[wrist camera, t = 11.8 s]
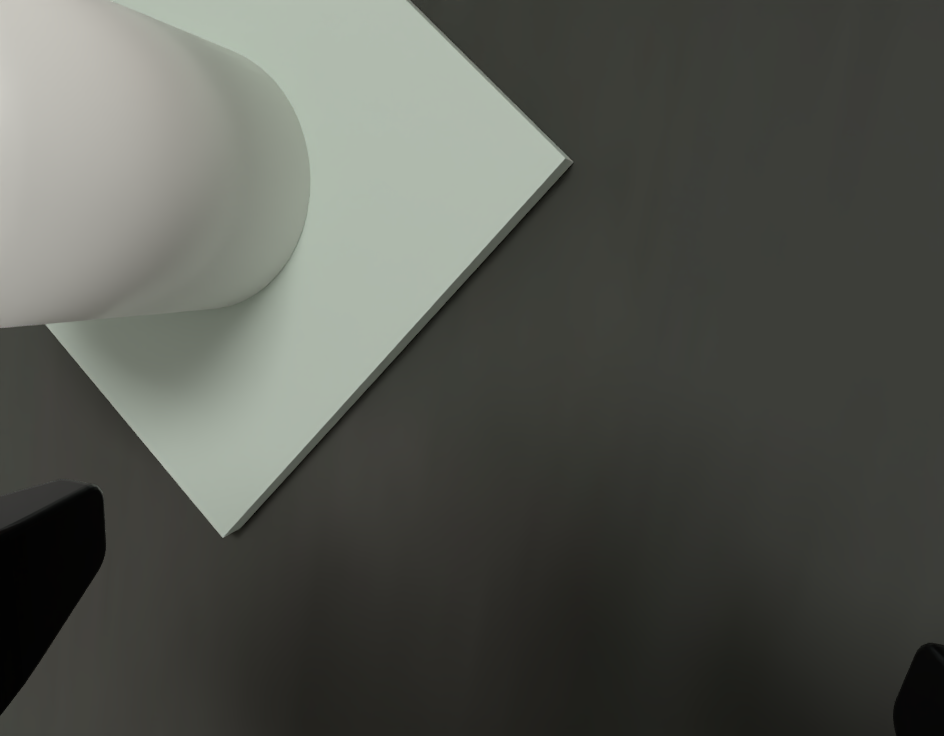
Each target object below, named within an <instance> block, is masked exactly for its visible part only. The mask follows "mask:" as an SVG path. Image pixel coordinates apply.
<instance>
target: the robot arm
mask: <svg viewBox="0 0 944 736" xmlns="http://www.w3.org/2000/svg"><path fill="white" fill-rule="evenodd" d="M105 551H106V535H105V514H104V498H103V493H102V491H101V489H100V488H99V487H98V486H97V485H95V484H90V483H85V482H80V481H75V480H69V479H60V480H56V481H52V482H49V483H45V484H41V485H38V486H34V487H31V488H27V489H23V490H20V491H16V492H13V493H9V494H6V495H2V496H0V715H1V714H2V713H3V711H4V710H5V709H6V708H7V706H8V705H9V704H10V703H11V701H12V700H13V699H14V697H15V696H16V695H17V693H18V692H19V691H20V689H21V688H22V687H23V685H24V684H25V683H26V681H27V680H28V678H29V677H30V675H31V674H32V672H33V671H34V670H35V668H36V667H37V665H38V664H39V662H40V661H41V659H42V657H43V656H44V654H45V653H46V651H47V650H48V648H49V647H50V645H51V644H52V642H53V640H54V639H55V637H56V636H57V634H58V633H59V631H60V630H61V628H62V626H63V625H64V623H65V622H66V620H67V619H68V617H69V616H70V614H71V613H72V611H73V609H74V608H75V606H76V605H77V603H78V602H79V600H80V599H81V597H82V596H83V594H84V592H85V591H86V589H87V588H88V586H89V585H90V583H91V582H92V580H93V578H94V577H95V575H96V574H97V572H98V571H99V569H100V567H101V565H102V562H103V560H104V556H105ZM893 720H894V727H895V732H896V736H944V645H941V644H936V643H927V644H924V645H922V646H921V647H920V648H919V649H918V650H917V652H916V654H915V656H914V658H913V661H912V663H911V665H910V668H909V670H908V672H907V675H906V677H905V680H904V682H903V684H902V687H901V689H900V691H899V694H898V696H897V698H896V701H895V705H894V711H893Z"/></svg>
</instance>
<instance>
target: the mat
mask: <svg viewBox="0 0 944 736" xmlns="http://www.w3.org/2000/svg"><path fill="white" fill-rule="evenodd" d="M111 1H113V2H115V3H118V4H120V5H123V6H125V7H128V8H130V9H132V10H135V11H137V12H140V13H142V14H145V15H147V16H149V17H152V18H154V19H157V20H159V21H162V22H164V23H166V24H169V25H171V26H174V27H176V28H179V29H181V30H183V31H186V32H188V33H191V34H193V35H196V36H198V37H200V38H203V39H205V40H208V41H210V42H213V43H215V44H217V45H220V46H222V47H225V48H227V49H230V50H232V51H234V52H237V53H239V54H241V55H242V56H244V57H246V58H248V59H250V60H251V61H253V62H254V63H255V64H257V65H258V66H260V67H261V68H262V69H263V70H264V71H265V72H266V73H267V74H268V75H269V76H271V77H272V78H273V79H274V81H275V82H276V83H277V84H278V86H279V87H280V88H281V89H282V91H283V92H284V94H285V95H286V97H287V99H288V100H289V102H290V104H291V105H292V107H293V109H294V111H295V113H296V116H297V118H298V120H299V122H300V125H301V128H302V132H303V135H304V138H305V141H306V147H307V152H308V157H309V168H310V196H309V203H308V209H307V215H306V218H305V222H304V226H303V230H302V232H301V235H300V237H299V240H298V242H297V245H296V247H295V249H294V251H293V253H292V254H291V256H290V258H289V260H288V261H287V263H286V264H285V266H284V267H283V268H282V270H281V271H280V272H279V274H278V275H277V276H276V277H275V278H274V279H273V280H272V281H271V282H270V283H269V284H268V285H267V286H266V287H264V288H263V289H262V290H261V291H259V292H258V293H257V294H255V295H253V296H252V297H250V298H248V299H246V300H245V301H242V302H240V303H237V304H234V305H232V306H228V307H223V308H218V309H208V310H197V311H186V312H174V313H163V314H152V315H141V316H130V317H118V318H107V319H96V320H85V321H74V322H62V323H51V324H45V325H46V326H47V327H48V328H49V330H50V331H51V332H52V333H53V334H54V336H55V337H56V338H57V339H58V340H59V342H60V343H61V344H62V345H63V346H64V348H65V349H66V350H67V351H68V352H69V354H70V355H71V356H72V357H73V358H74V360H75V361H76V362H77V363H78V364H79V366H80V367H81V368H82V369H83V370H84V372H85V373H86V374H87V375H88V376H89V378H90V379H91V380H92V381H93V382H94V384H95V385H96V386H97V387H98V388H99V390H100V391H101V392H102V393H103V394H104V396H105V397H106V398H107V399H108V400H109V402H110V403H111V404H112V405H113V406H114V408H115V409H116V410H117V411H118V412H119V414H120V415H121V416H122V417H123V418H124V420H125V421H126V422H127V423H128V425H129V426H130V427H131V428H132V429H133V431H134V432H135V433H136V434H137V435H138V437H139V438H140V439H141V440H142V441H143V443H144V444H145V445H146V446H147V447H148V449H149V450H150V451H151V452H152V453H153V455H154V456H155V457H156V458H157V459H158V461H159V462H160V463H161V464H162V465H163V467H164V468H165V469H166V470H167V471H168V473H169V474H170V475H171V476H172V477H173V479H174V480H175V481H176V482H177V483H178V485H179V486H180V487H181V488H182V489H183V491H184V492H185V493H186V494H187V495H188V497H189V498H190V499H191V500H192V501H193V503H194V504H195V505H196V506H197V507H198V509H199V510H200V511H201V512H202V513H203V515H204V516H205V517H206V518H207V519H208V521H209V522H210V523H211V524H212V526H213V527H214V528H215V529H216V530H217V532H218V533H219V534H220V535H221V536H222V538H223V537H225V536H227V535H229V534H231V533H233V532H234V531H236V530H238V529H240V528H241V527H242V526H243V525H244V524H245V523H246V522H247V521H248V519H249V518H250V517H251V516H252V515H253V514H254V513H255V512H256V511H257V510H258V508H259V507H260V506H261V505H262V504H263V503H264V502H265V501H266V500H267V499H268V497H269V496H270V495H271V494H272V493H273V492H274V491H275V490H276V489H277V488H278V486H279V485H280V484H281V483H282V482H283V481H284V480H285V479H286V478H287V477H288V475H289V474H290V473H291V472H292V471H293V470H294V469H295V468H296V467H297V466H298V464H299V463H300V462H301V461H302V460H303V459H304V458H305V457H306V456H307V455H308V453H309V452H310V451H311V450H312V449H313V448H314V447H315V446H316V445H317V444H318V442H319V441H320V440H321V439H322V438H323V437H324V436H325V435H326V434H327V433H328V431H329V430H330V429H331V428H332V427H333V426H334V425H335V424H336V423H337V422H338V420H339V419H340V418H341V417H342V416H343V415H344V414H345V413H346V412H347V411H348V410H349V408H350V407H351V406H352V405H353V404H354V403H355V402H356V401H357V400H358V399H359V397H360V396H361V395H362V394H363V393H364V392H365V391H366V390H367V389H368V388H369V386H370V385H371V384H372V383H373V382H374V381H375V380H376V379H377V378H378V377H379V375H380V374H381V373H382V372H383V371H384V370H385V369H386V368H387V367H388V366H389V364H390V363H391V362H392V361H393V360H394V359H395V358H396V357H397V356H398V355H399V353H400V352H401V351H402V350H403V349H404V348H405V347H406V346H407V345H408V344H409V342H410V341H411V340H412V339H413V338H414V337H415V336H416V335H417V334H418V333H419V331H420V330H421V329H422V328H423V327H424V326H425V325H426V324H427V323H428V322H429V320H430V319H431V318H432V317H433V316H434V315H435V314H436V313H437V312H438V311H439V309H440V308H441V307H442V306H443V305H444V304H445V303H446V302H447V301H448V300H449V299H450V297H451V296H452V295H453V294H454V293H455V292H456V291H457V290H458V289H459V288H460V286H461V285H462V284H463V283H464V282H465V281H466V280H467V279H468V278H469V277H470V275H471V274H472V273H473V272H474V271H475V270H476V269H477V268H478V267H479V266H480V264H481V263H482V262H483V261H484V260H485V259H486V258H487V257H488V256H489V255H490V253H491V252H492V251H493V250H494V249H495V248H496V247H497V246H498V245H499V244H500V242H501V241H502V240H503V239H504V238H505V237H506V236H507V235H508V234H509V233H510V231H511V230H512V229H513V228H514V227H515V226H516V225H517V224H518V223H519V222H520V220H521V219H522V218H523V217H524V216H525V215H526V214H527V213H528V212H529V211H530V209H531V208H532V207H533V206H534V205H535V204H536V203H537V202H538V201H539V200H540V198H541V197H542V196H543V195H544V194H545V193H546V192H547V191H548V190H549V189H550V188H551V186H552V185H553V184H554V183H555V182H556V181H557V180H558V179H559V178H560V177H561V175H562V174H563V173H564V172H565V171H566V170H567V169H568V168H569V167H570V166H571V164H572V163H573V161H572V160H571V159H570V158H569V157H568V156H567V155H566V154H565V153H564V152H563V151H562V150H561V149H560V148H559V147H558V146H557V145H556V144H555V143H554V142H553V141H552V140H551V139H550V138H549V137H548V136H547V135H546V134H545V133H543V132H542V131H541V130H540V129H539V128H538V127H537V126H536V125H535V124H534V123H533V122H532V121H531V120H530V119H529V118H528V117H527V116H526V115H525V114H524V113H523V112H522V111H521V110H520V109H519V108H518V107H517V106H516V105H515V104H514V103H513V102H512V101H511V100H510V99H509V98H508V97H507V96H506V95H505V94H504V93H503V92H502V91H501V90H500V89H499V88H498V87H497V86H496V85H495V84H494V83H493V82H492V81H491V80H490V79H489V78H488V77H487V76H486V75H485V74H484V73H483V72H482V71H481V70H480V69H479V68H478V67H477V66H476V65H475V64H474V63H473V62H472V61H471V60H470V59H469V58H468V57H467V56H466V55H465V54H464V53H463V52H462V51H461V50H460V49H459V48H458V47H457V46H456V45H455V44H454V43H453V42H452V41H451V40H450V39H449V38H448V37H447V36H446V35H445V34H444V33H443V32H442V31H440V30H439V29H438V28H437V27H436V26H435V25H434V24H433V23H432V22H431V21H430V20H429V19H428V18H427V17H426V16H425V15H424V14H423V13H422V12H421V11H420V10H419V9H418V8H417V7H416V6H415V5H414V4H413V3H412V2H411V1H410V0H111Z"/></svg>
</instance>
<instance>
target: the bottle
mask: <svg viewBox="0 0 944 736" xmlns="http://www.w3.org/2000/svg"><path fill="white" fill-rule="evenodd" d="M309 196H310V168H309V157H308V152H307V147H306V141H305V138H304V135H303V132H302V128H301V125H300V122H299V120H298V118H297V116H296V113H295V111H294V109H293V107H292V105H291V104H290V102H289V100H288V99H287V97H286V95H285V94H284V92H283V91H282V89H281V88H280V87H279V86H278V84H277V83H276V82H275V81H274V79H273V78H272V77H271V76H269V75H268V74H267V73H266V72H265V71H264V70H263V69H262V68H261V67H260V66H258V65H257V64H255V63H254V62H253V61H251V60H250V59H248V58H246V57H244V56H242V55H241V54H239V53H237V52H234V51H232V50H230V49H227V48H225V47H222V46H220V45H217V44H215V43H213V42H210V41H208V40H205V39H203V38H200V37H198V36H196V35H193V34H191V33H188V32H186V31H183V30H181V29H179V28H176V27H174V26H171V25H169V24H166V23H164V22H162V21H159V20H157V19H154V18H152V17H149V16H147V15H145V14H142V13H140V12H137V11H135V10H132V9H130V8H128V7H125V6H123V5H120V4H118V3H115V2H113V1H111V0H0V328H6V327H18V326H29V325H40V324H51V323H62V322H74V321H85V320H96V319H107V318H118V317H130V316H141V315H152V314H163V313H174V312H186V311H197V310H208V309H218V308H223V307H228V306H232V305H234V304H237V303H240V302H242V301H245V300H246V299H248V298H250V297H252V296H253V295H255V294H257V293H258V292H259V291H261V290H262V289H263V288H264V287H266V286H267V285H268V284H269V283H270V282H271V281H272V280H273V279H274V278H275V277H276V276H277V275H278V274H279V272H280V271H281V270H282V268H283V267H284V266H285V264H286V263H287V261H288V260H289V258H290V256H291V254H292V253H293V251H294V249H295V247H296V245H297V242H298V240H299V237H300V235H301V232H302V230H303V226H304V222H305V218H306V215H307V209H308V203H309Z"/></svg>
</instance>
